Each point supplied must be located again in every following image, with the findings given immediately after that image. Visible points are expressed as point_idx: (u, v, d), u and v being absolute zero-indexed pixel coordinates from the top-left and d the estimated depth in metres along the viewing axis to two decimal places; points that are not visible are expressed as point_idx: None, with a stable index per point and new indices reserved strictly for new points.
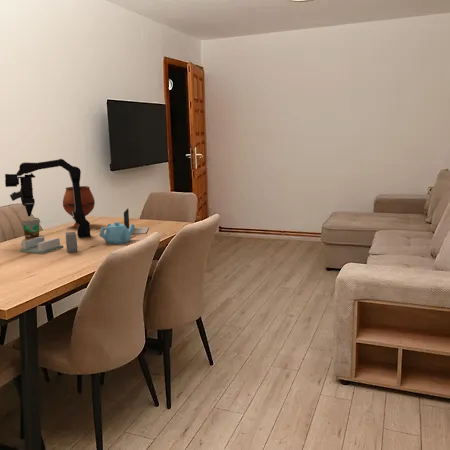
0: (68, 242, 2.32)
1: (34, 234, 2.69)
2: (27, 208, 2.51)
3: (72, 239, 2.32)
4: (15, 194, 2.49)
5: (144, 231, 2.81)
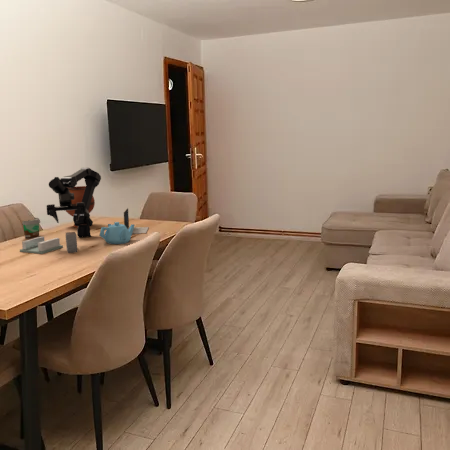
0: (68, 242, 2.32)
1: (34, 234, 2.69)
2: None
3: (72, 239, 2.32)
4: (73, 195, 2.44)
5: (144, 231, 2.81)
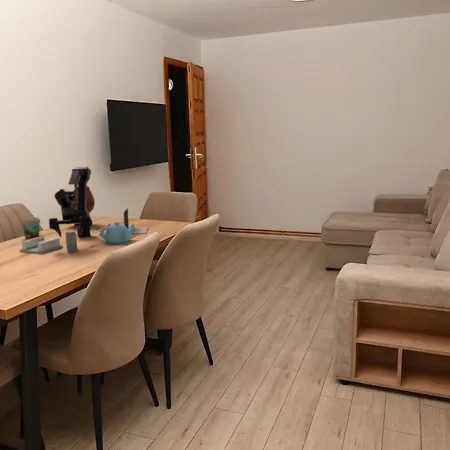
0: (68, 242, 2.32)
1: (34, 234, 2.69)
2: None
3: (72, 239, 2.32)
4: None
5: (144, 231, 2.81)
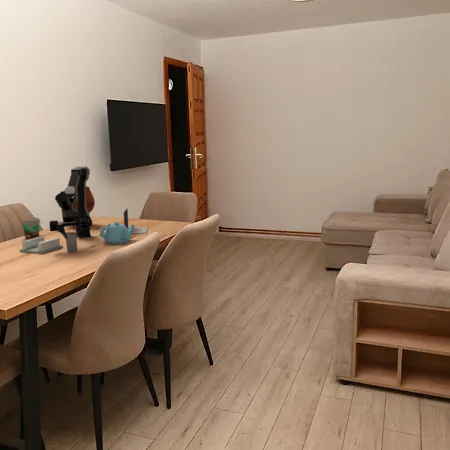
0: (68, 242, 2.32)
1: (34, 234, 2.69)
2: None
3: (72, 239, 2.32)
4: (77, 211, 2.37)
5: (144, 231, 2.81)
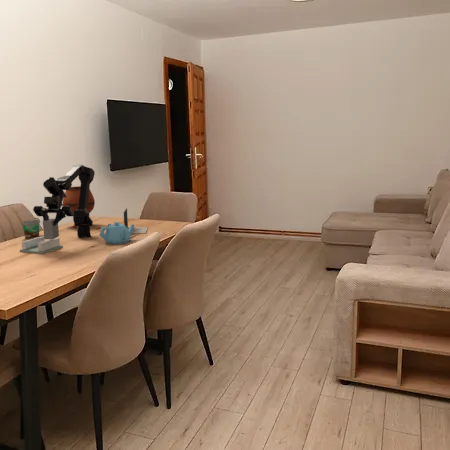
0: (44, 228, 2.33)
1: (34, 234, 2.69)
2: (58, 217, 2.36)
3: (48, 226, 2.32)
4: (59, 198, 2.36)
5: (144, 231, 2.82)
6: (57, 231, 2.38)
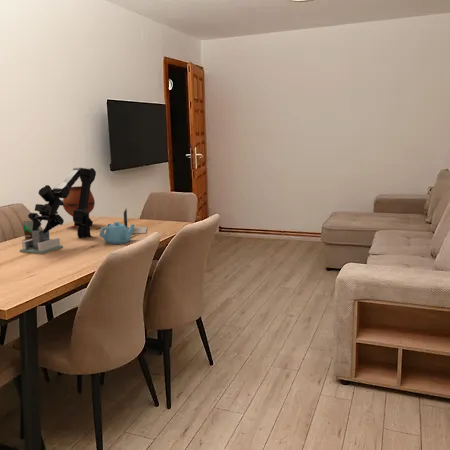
0: (33, 238, 2.37)
1: None
2: (49, 225, 2.38)
3: (36, 235, 2.36)
4: (49, 206, 2.38)
5: (144, 231, 2.82)
6: None
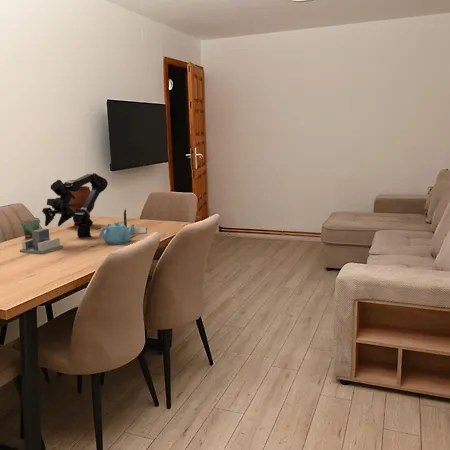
0: (33, 238, 2.37)
1: None
2: (62, 218, 2.45)
3: (36, 235, 2.36)
4: (59, 200, 2.46)
5: (143, 231, 2.82)
6: None
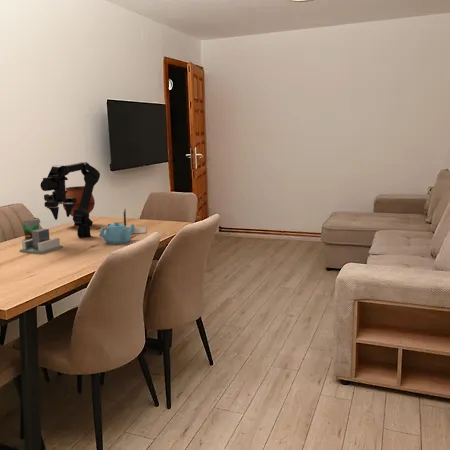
0: (33, 238, 2.37)
1: None
2: (52, 211, 2.49)
3: (36, 235, 2.36)
4: (46, 196, 2.51)
5: (143, 231, 2.82)
6: None
